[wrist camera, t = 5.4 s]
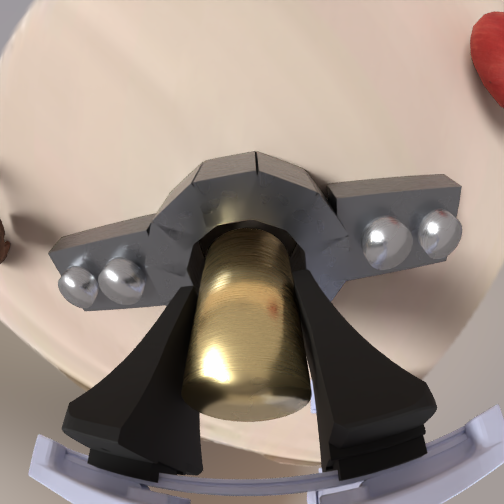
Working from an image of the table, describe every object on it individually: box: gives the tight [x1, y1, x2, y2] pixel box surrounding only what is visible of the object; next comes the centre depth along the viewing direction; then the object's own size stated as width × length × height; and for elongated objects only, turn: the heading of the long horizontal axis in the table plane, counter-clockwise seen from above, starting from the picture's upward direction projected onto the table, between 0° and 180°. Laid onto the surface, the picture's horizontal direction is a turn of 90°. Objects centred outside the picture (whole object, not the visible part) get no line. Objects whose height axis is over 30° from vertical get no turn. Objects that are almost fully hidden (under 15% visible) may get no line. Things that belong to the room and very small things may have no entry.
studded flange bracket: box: [48, 151, 462, 311], centre depth 14 cm, size 9×24×3 cm, turn 100°
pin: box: [181, 228, 312, 422], centre depth 10 cm, size 4×4×7 cm
